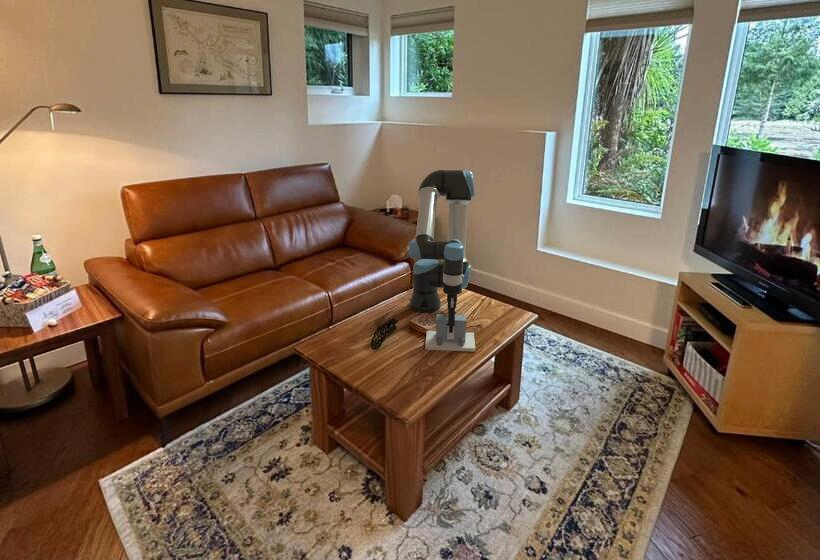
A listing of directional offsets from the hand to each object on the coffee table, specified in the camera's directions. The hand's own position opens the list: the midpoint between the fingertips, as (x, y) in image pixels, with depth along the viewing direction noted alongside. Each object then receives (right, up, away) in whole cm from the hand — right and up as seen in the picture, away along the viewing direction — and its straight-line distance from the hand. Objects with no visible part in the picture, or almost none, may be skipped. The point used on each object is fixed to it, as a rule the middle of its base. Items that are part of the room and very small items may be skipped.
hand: (450, 333), depth 192 cm
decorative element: (-27, -3, +6) cm, 28 cm away
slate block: (0, -2, +1) cm, 3 cm away
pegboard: (0, -4, +2) cm, 4 cm away
